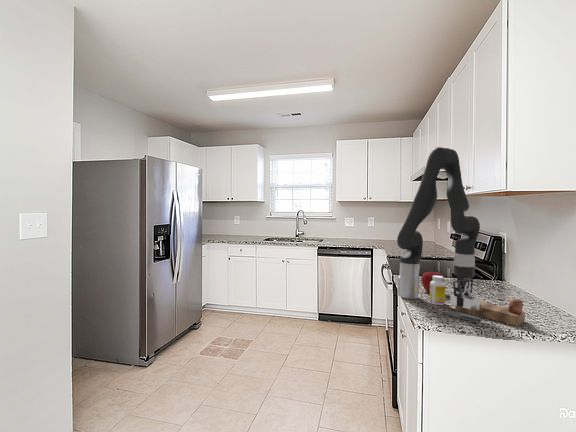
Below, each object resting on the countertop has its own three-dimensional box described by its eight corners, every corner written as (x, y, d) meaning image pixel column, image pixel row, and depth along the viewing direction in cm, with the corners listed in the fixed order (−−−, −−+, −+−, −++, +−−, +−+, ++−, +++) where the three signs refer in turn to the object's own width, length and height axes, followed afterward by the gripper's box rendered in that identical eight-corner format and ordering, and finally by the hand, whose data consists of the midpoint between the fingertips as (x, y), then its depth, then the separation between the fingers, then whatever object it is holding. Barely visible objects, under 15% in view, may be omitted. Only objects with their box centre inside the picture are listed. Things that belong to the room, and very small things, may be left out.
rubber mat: (443, 314, 133) (443, 313, 133) (450, 311, 138) (450, 309, 137) (474, 323, 124) (474, 321, 124) (481, 319, 128) (481, 317, 128)
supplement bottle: (448, 304, 147) (449, 277, 147) (439, 306, 144) (440, 278, 143) (435, 300, 153) (436, 274, 152) (426, 302, 150) (427, 275, 149)
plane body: (455, 310, 139) (456, 285, 139) (463, 306, 145) (464, 282, 144) (517, 326, 121) (519, 298, 120) (525, 321, 127) (526, 294, 126)
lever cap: (450, 304, 132) (450, 294, 132) (455, 302, 135) (455, 292, 135) (477, 311, 124) (478, 301, 123) (483, 308, 127) (483, 298, 127)
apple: (439, 290, 172) (439, 269, 172) (446, 295, 162) (447, 273, 161) (418, 289, 173) (418, 268, 173) (424, 294, 163) (425, 272, 162)
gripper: (462, 261, 137) (460, 300, 138) (446, 264, 128) (445, 306, 129) (481, 264, 131) (479, 304, 132) (466, 267, 122) (465, 311, 123)
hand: (462, 305), depth 130 cm, fingers closed on lever cap, 5 cm apart
